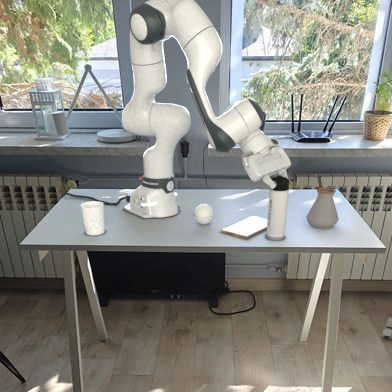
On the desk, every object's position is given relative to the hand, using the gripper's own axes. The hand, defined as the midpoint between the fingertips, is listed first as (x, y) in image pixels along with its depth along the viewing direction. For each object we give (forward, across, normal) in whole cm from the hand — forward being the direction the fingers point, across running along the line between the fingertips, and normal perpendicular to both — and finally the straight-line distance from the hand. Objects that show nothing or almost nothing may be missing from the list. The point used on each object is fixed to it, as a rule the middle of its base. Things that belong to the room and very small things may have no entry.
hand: (281, 185), depth 164 cm
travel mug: (+12, 0, +13) cm, 18 cm away
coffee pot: (+15, +24, +10) cm, 30 cm away
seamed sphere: (-7, -6, +32) cm, 34 cm away
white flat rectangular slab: (+4, +2, +22) cm, 22 cm away
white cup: (-25, -36, +51) cm, 67 cm away
